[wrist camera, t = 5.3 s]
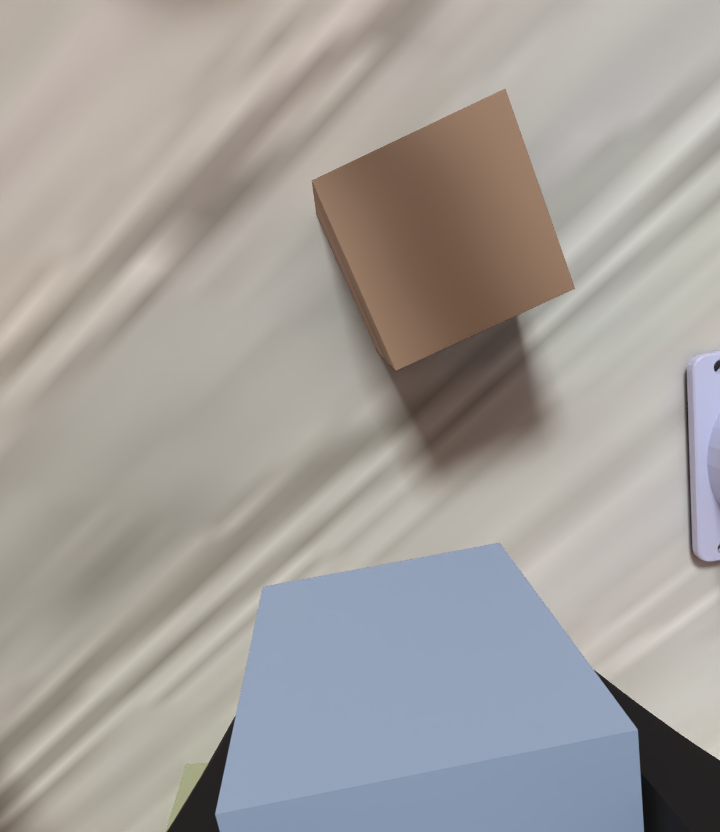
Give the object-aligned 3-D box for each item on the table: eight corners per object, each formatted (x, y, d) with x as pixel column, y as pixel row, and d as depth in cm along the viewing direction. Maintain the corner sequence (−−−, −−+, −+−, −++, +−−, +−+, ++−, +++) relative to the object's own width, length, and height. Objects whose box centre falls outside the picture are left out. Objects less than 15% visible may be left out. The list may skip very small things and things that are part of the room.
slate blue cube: (499, 542, 11) (637, 730, 6) (523, 741, 12) (656, 1033, 7) (262, 586, 11) (214, 813, 6) (307, 784, 12) (297, 1111, 7)
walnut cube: (455, 148, 17) (505, 88, 12) (509, 291, 18) (575, 288, 14) (316, 214, 18) (312, 180, 13) (378, 352, 19) (395, 370, 14)
